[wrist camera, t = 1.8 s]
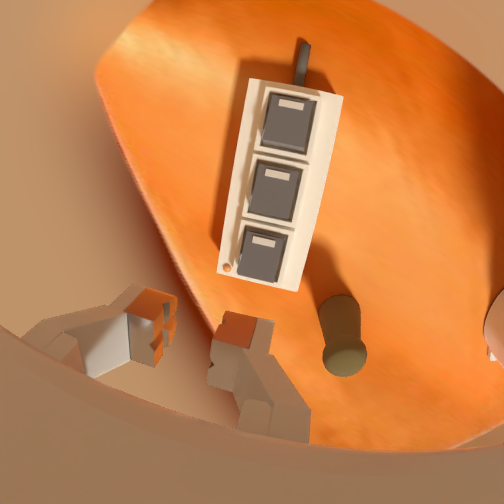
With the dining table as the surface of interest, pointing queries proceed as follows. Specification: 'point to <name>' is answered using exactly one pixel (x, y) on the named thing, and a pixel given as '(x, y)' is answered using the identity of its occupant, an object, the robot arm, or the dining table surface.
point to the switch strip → (305, 162)
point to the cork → (342, 335)
